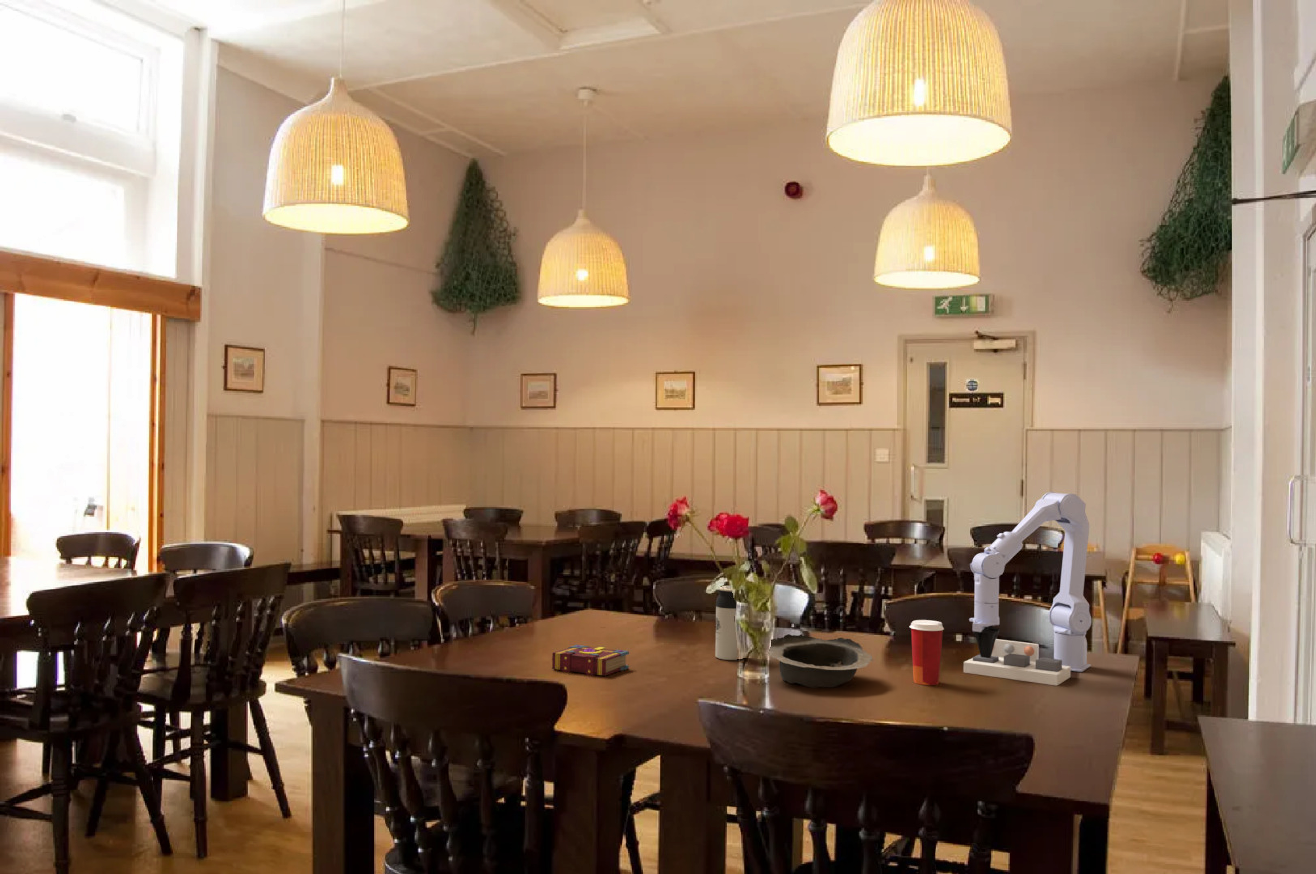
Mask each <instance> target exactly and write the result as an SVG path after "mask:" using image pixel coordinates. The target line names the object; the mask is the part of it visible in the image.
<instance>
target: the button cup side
mask: <svg viewBox="0 0 1316 874" xmlns="http://www.w3.org/2000/svg"><path fill="white" fill-rule="evenodd" d="M1036 669H1039V670H1046V671H1054V672H1058V671H1060V670H1062V660H1058V659H1054V658H1050V657H1040V658H1039V659H1037V660H1036Z"/></svg>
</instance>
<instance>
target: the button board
mask: <svg viewBox="0 0 1316 874" xmlns="http://www.w3.org/2000/svg"><path fill="white" fill-rule="evenodd" d="M1071 672H1072V671H1071V667H1070V666H1062V670H1060V671H1058V672H1054V671H1046V670H1039V669H1036V662H1031V661H1030V665H1029V666H1027V667H1025V668H1024V667H1016V666H1009V665H1004V658H1000V657H999V661H997V662H995V663H986V662H979V661H973V657H972V658H970V659H968V660H965V661H963V673H964V674H972V675H980V676H986V677H992V678H993V677H994V678H1000V679H1007V680H1014V681H1020V682H1021V681H1023V682H1030V683H1036V684H1043V685H1050V686H1056V687H1057V686H1059V685H1060V684H1062V683H1063V682H1065V681H1066V680H1068V679H1070V678H1071Z"/></svg>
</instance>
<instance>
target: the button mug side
mask: <svg viewBox="0 0 1316 874" xmlns="http://www.w3.org/2000/svg"><path fill="white" fill-rule="evenodd" d="M972 658H973V661H979V662H986V663H995V662H997V661H999V657H996V656H991V657H990V658H985V657H981V655H980V653H979V654H977V655H975V656H973V657H972Z"/></svg>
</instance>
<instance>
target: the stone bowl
mask: <svg viewBox="0 0 1316 874" xmlns="http://www.w3.org/2000/svg"><path fill="white" fill-rule="evenodd" d="M863 649H864V648H863V646H861V644H860V643H859V642H856V641H853V640H852V639H851V638H843V637H838V638H834V639H831V638H830V639H826V640H825V639H822V638H817V637H813V636H809V635H808V634H805V635H803V634H802V633H801V634H799V635H796V634H794V635H792V634H790V633H788V634H786V635H784V636H782V637H777V638H772V639H771V647H770V649H769V652H768V654H767V653H766V655H767V656H769V657H771V658H773V659H777V660H778V661H779V663H778V667H779V668H778V669H779V674H780V675H779V676H780V677H781V680H782V681H784V682H787V683H788V684H798V685H801V686H805V687H807V688H810V689H817V688H836V687H838V686H840V685H841V684H845V683H848V682H849V681H851V680H852V679H853V678H854V676H855V675H856V673H857V670H858V669H860V668H865V667H867V666H868V665H869V663H870V662H872V661H874V659H873V656H872V654H871V653H868V652H867V651H866V650H863Z"/></svg>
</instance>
